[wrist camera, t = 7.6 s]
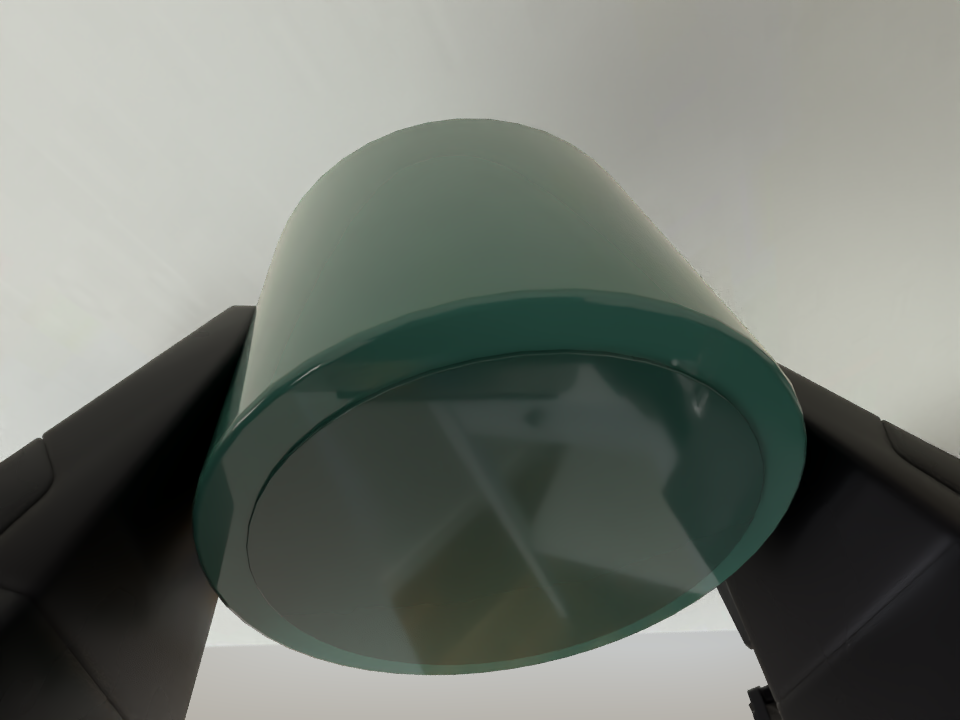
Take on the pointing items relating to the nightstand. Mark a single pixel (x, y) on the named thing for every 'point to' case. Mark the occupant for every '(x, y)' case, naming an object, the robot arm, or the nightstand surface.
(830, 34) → the nightstand surface
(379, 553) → the green glass jar
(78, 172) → the nightstand surface
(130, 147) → the nightstand surface
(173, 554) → the robot arm
